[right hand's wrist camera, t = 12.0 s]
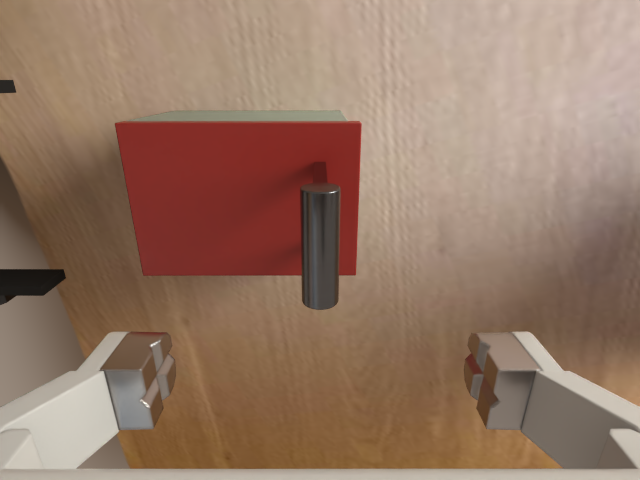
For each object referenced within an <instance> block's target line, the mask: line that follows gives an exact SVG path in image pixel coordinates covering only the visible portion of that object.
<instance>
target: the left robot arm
mask: <svg viewBox="0 0 640 480" xmlns="http://www.w3.org/2000/svg"><path fill="white" fill-rule="evenodd" d="M0 93H16V89H15V86H14V82H13V80H0ZM65 278H66V277H65V273H64V269H0V305H2V304H4V303H7V302H8V301H9V300H11V299H12V298H14V297H15V296H17V295H35V296H42V295H45V294H46V293H47V292H48V291H50V290H51V289H52V288H54V287H55V286H56V285H58V284H59V283H60V282H61V281H63V280H64V279H65Z"/></svg>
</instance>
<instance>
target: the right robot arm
mask: <svg viewBox="0 0 640 480" xmlns="http://www.w3.org/2000/svg"><path fill="white" fill-rule="evenodd" d="M171 347H172V341H171V337H170V335H169V334H168V333H167V332H111V333H108V334H107V335H106V336H105V338H104V339H103V340H102V341H101V342H100V343H99V345H98V346H97V347H96V348H95V349H94V351H93V352H92V353H91V354H90V355H89V356H88V358H87V359H86V360H85V361H84V362H83V364H82V365H81V366H80V367H79V368H78V369H77V371H69V372H67V373H65V374H63V375H61V376H59V377H57V378H56V379H54V380H52V381H50V382H48V383H46V384H44V385H42V386H40V387H38V388H36V389H34V390H32V391H30V392H28V393H26V394H25V395H23V396H21V397H19V398H17V399H15V400H13V401H11V402H9V403H7V404H5V405H3V406H1V407H0V480H640V407H639V406H637V405H635V404H633V403H631V402H629V401H627V400H625V399H623V398H621V397H619V396H617V395H615V394H613V393H611V392H610V391H608V390H606V389H604V388H602V387H600V386H598V385H596V384H594V383H592V382H590V381H588V380H586V379H584V378H582V377H581V376H579V375H577V374H575V373H573V372H571V371H563V369H562V368H561V367H560V366H559V365H558V364H557V362H556V361H555V360H554V359H553V358H552V356H551V355H550V354H549V353H548V352H547V351H546V349H545V348H544V347H543V346H542V345H541V344H540V342H539V341H538V340H537V339H536V338H535V336H534V335H533V334H532V333H530V332H528V331H525V332H506V333H471V335H470V337H469V341H468V347H469V349H470V351H471V354H470V355H469V356H468V357H467V358H466V359H465V365H464V377H465V383H466V386H467V389H468V391H469V393H470V395H471V396H472V397H474V398H475V399H476V400H478V403H477V410H478V412H479V414H480V416H481V418H482V421H483V423H484V425H485V427H486V429H504V430H521V432H522V433H523V434H524V435H525V436H527V437H528V438H529V439H530V440H531V441H532V442H534V443H535V444H536V445H537V446H538V447H539V448H541V449H542V450H543V451H544V452H545V453H546V454H548V455H549V456H550V457H551V458H552V459H554V460H555V461H556V462H557V463H558V464H559V465H561V466H562V467H563V468H564V469H76V468H77V467H78V466H80V465H81V464H82V463H83V462H84V461H85V460H87V459H88V458H89V457H90V456H91V455H92V454H94V453H95V452H96V451H97V450H98V449H99V448H101V447H102V446H103V445H104V444H105V443H107V442H108V441H109V440H110V439H111V438H112V437H114V436H115V435H116V434H117V433H118V432H119V430H136V429H154V427H155V425H156V423H157V421H158V419H159V416H160V414H161V412H162V410H163V403H162V400H164V399H165V398H166V397H168V396H169V395H170V393H171V391H172V389H173V387H174V382H175V377H176V364H175V359H174V358H173V357H172V356H171V355H170V354H169V351H170V349H171Z"/></svg>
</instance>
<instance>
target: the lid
mask: <svg viewBox="0 0 640 480" xmlns="http://www.w3.org/2000/svg"><path fill="white" fill-rule="evenodd" d="M361 125H362V124H361V122H360V121H123V122H118V123H115V127H116V132H117V138H118V143H119V148H120V154H121V159H122V164H123V170H124V175H125V180H126V186H127V191H128V196H129V202H130V207H131V212H132V218H133V223H134V229H135V234H136V239H137V245H138V250H139V255H140V261H141V266H142V271H143V275H144V276H154V275H302V302H303V303H304V305H305V306H307V307H309V308H312V309H317V310H323V309H329V308H332V307H334V306H335V305H336V304H337V303H338V295H339V275H356V258H357V231H358V205H359V178H360V152H361Z"/></svg>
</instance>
